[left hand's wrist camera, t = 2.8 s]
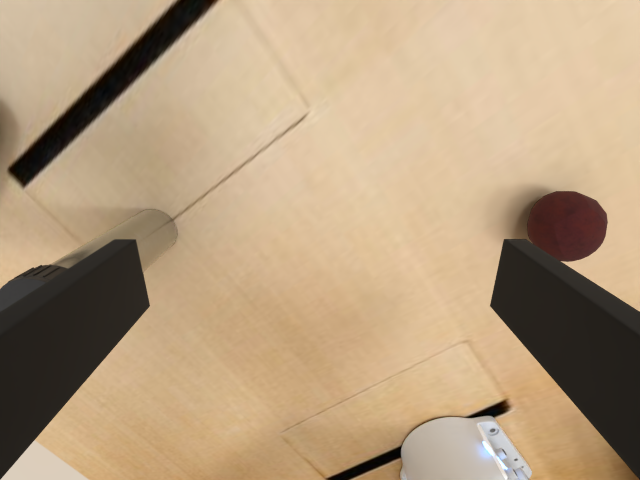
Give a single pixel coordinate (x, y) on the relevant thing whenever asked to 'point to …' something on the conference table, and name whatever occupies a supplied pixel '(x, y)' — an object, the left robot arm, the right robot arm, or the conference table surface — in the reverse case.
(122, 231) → the silver metal cylinder
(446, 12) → the conference table surface
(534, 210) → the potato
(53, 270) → the lid
